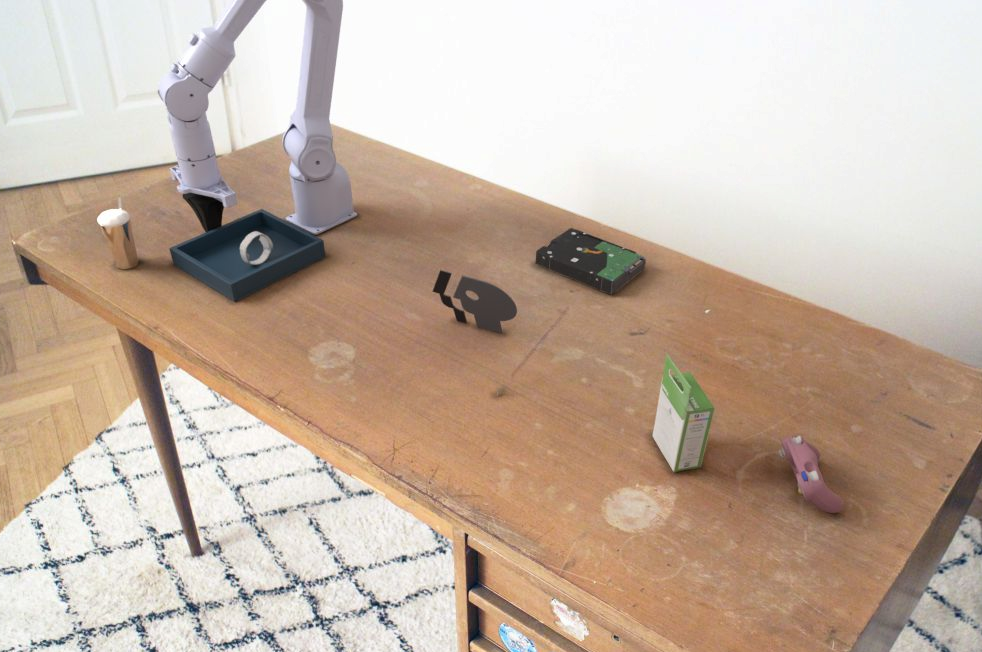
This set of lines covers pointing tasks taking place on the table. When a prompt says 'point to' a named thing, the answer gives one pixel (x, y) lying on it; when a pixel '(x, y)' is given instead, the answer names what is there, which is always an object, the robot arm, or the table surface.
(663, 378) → the ink box
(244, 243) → the wristwatch
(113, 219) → the milkshake
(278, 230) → the tray
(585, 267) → the disk drive
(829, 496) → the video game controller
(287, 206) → the table surface
